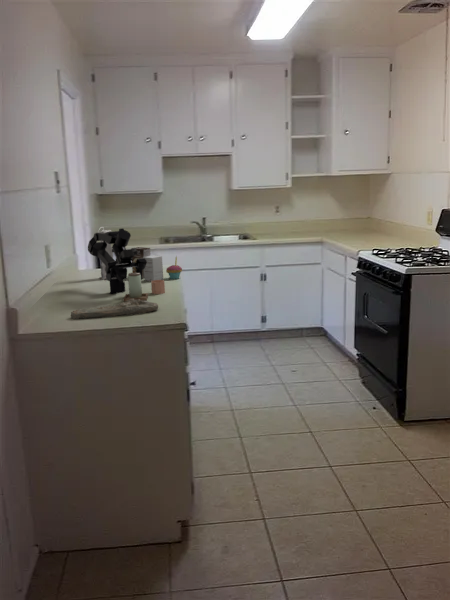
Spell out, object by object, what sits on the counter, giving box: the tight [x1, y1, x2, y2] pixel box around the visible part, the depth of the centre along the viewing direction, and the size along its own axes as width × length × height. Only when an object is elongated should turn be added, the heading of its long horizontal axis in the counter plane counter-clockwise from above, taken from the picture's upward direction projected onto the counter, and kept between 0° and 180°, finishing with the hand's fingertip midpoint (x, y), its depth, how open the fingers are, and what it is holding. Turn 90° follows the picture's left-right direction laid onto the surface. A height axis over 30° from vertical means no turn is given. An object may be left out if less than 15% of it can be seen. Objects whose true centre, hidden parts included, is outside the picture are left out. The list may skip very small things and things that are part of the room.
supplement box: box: [143, 254, 164, 282], centre depth 303 cm, size 7×7×13 cm
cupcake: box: [166, 255, 183, 280], centre depth 305 cm, size 9×8×12 cm
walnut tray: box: [123, 292, 149, 303], centre depth 255 cm, size 10×10×2 cm
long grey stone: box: [70, 298, 159, 320], centre depth 230 cm, size 35×5×10 cm
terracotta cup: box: [150, 279, 166, 295], centre depth 267 cm, size 6×6×6 cm
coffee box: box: [131, 246, 151, 279], centre depth 313 cm, size 9×6×16 cm
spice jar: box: [127, 272, 143, 298], centre depth 254 cm, size 6×6×11 cm
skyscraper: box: [97, 226, 114, 281], centre depth 311 cm, size 8×8×28 cm
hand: (132, 280), depth 256 cm, fingers open, 9 cm apart
